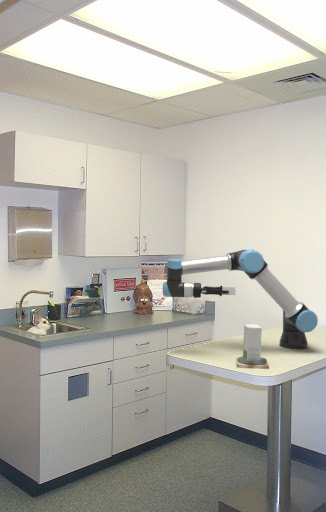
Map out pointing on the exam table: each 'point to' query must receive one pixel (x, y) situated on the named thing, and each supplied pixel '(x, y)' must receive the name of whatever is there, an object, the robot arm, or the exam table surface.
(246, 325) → the skincare box
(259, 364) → the rosette stand
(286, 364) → the exam table surface
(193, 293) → the robot arm
